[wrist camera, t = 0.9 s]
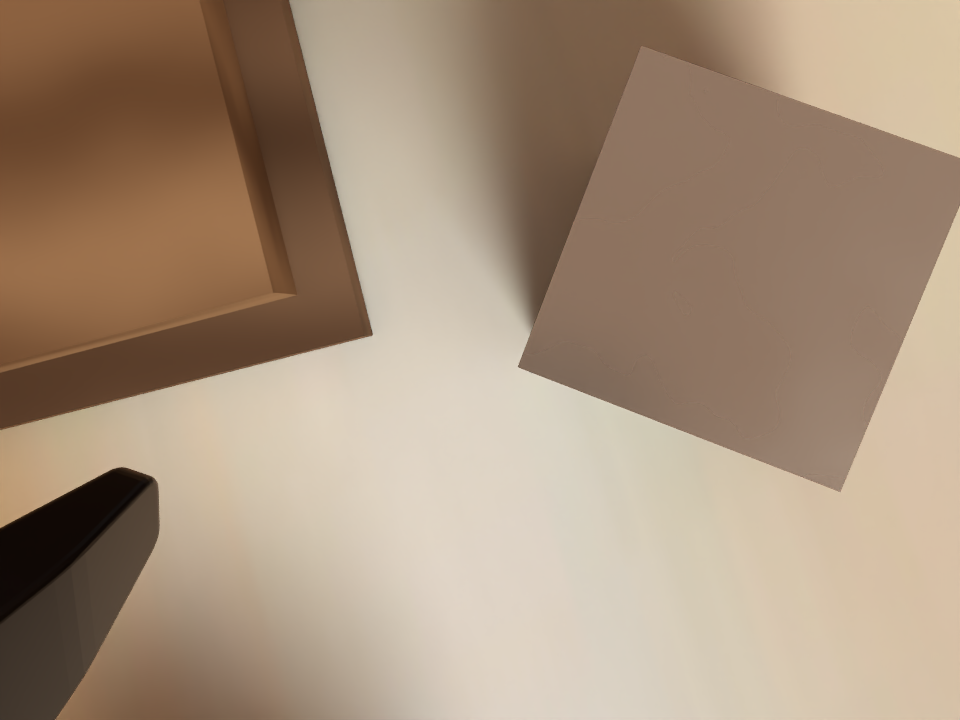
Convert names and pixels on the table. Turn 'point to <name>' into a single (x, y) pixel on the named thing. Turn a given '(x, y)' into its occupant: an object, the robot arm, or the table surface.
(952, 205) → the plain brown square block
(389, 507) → the table surface
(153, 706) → the table surface
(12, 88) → the walnut stand
